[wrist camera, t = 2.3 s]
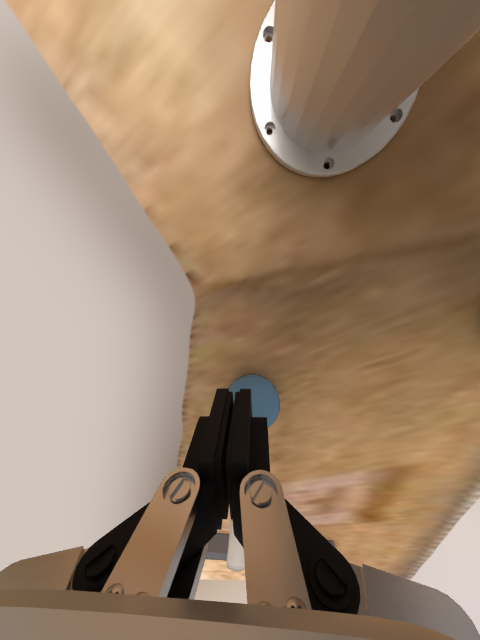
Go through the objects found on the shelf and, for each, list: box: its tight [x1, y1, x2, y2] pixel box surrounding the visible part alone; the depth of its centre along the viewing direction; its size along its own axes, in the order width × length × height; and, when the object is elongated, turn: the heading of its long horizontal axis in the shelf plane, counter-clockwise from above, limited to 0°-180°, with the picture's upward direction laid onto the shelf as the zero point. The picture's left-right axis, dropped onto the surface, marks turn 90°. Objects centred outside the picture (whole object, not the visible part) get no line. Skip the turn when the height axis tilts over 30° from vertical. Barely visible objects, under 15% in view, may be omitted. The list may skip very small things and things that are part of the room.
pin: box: [227, 519, 245, 571], centre depth 31 cm, size 2×2×8 cm
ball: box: [229, 375, 280, 427], centre depth 25 cm, size 6×6×6 cm
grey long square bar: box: [205, 533, 335, 561], centre depth 37 cm, size 2×24×2 cm, turn 93°
